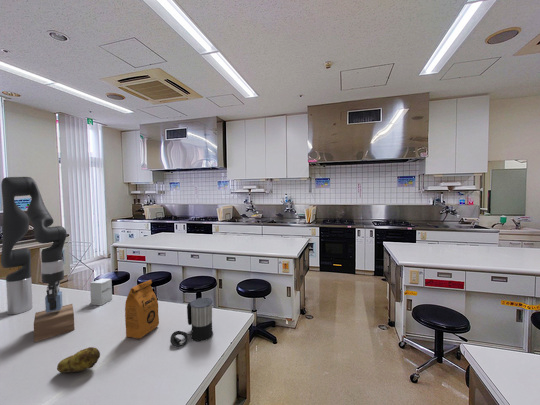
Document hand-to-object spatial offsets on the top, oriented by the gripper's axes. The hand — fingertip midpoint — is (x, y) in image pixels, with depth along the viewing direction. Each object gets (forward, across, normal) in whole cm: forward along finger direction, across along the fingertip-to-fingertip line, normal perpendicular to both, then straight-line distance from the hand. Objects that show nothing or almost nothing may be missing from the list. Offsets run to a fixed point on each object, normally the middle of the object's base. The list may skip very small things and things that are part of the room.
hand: (54, 307), depth 108 cm
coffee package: (+11, +26, +33) cm, 43 cm away
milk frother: (+11, +44, +50) cm, 67 cm away
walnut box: (+11, 0, 0) cm, 11 cm away
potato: (+11, +40, +12) cm, 43 cm away
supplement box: (+11, -22, +17) cm, 30 cm away
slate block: (+1, 0, 0) cm, 1 cm away
